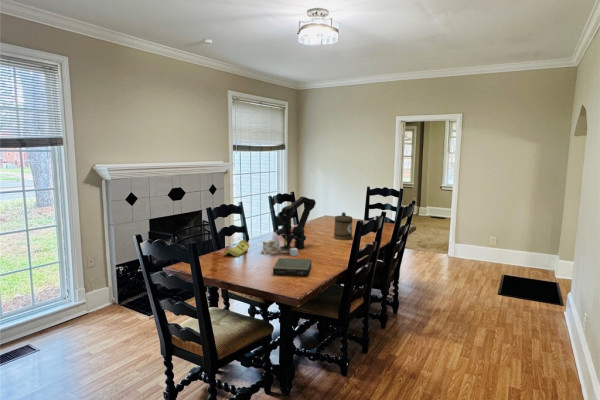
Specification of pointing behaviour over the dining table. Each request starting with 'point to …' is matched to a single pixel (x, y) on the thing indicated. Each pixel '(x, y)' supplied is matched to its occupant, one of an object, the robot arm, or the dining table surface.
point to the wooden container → (343, 227)
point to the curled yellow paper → (238, 249)
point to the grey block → (293, 251)
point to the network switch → (292, 267)
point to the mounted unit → (273, 247)
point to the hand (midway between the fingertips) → (287, 245)
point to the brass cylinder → (286, 244)
